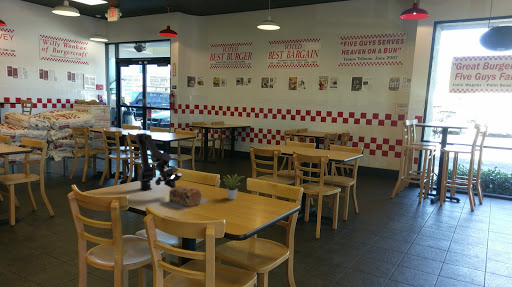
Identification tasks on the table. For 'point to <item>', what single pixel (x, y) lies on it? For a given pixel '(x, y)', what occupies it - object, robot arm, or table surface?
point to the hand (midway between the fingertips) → (175, 189)
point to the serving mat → (180, 206)
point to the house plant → (232, 187)
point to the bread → (185, 195)
